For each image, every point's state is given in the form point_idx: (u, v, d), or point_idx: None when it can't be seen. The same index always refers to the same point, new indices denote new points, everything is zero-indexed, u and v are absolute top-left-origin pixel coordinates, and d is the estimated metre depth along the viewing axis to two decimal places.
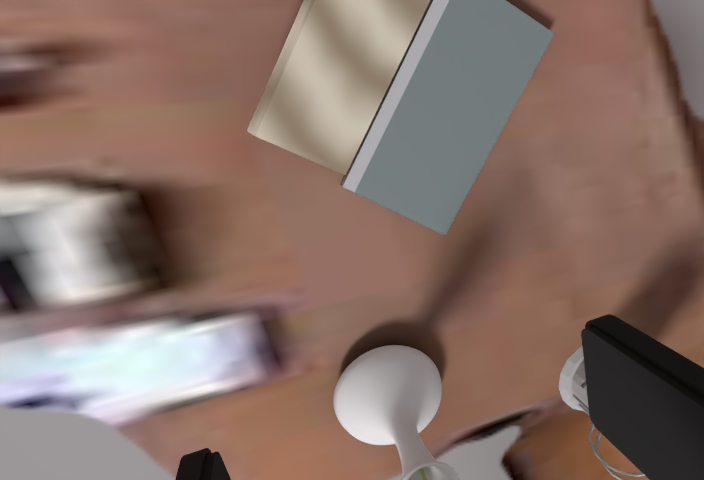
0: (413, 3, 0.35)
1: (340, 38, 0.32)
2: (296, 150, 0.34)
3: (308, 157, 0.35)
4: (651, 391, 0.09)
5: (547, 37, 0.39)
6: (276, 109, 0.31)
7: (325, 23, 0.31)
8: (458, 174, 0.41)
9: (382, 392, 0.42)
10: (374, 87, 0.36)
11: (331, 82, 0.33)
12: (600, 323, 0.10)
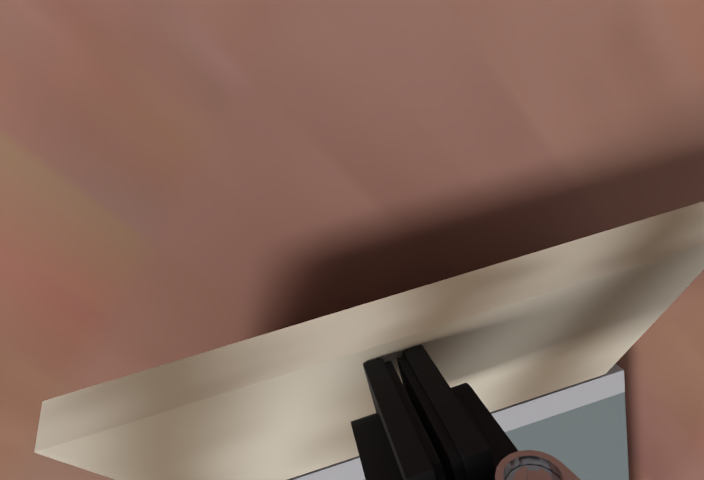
0: (539, 385, 0.18)
1: None
2: (132, 479, 0.13)
3: None
4: (425, 421, 0.10)
5: None
6: (150, 428, 0.11)
7: None
8: None
9: None
10: None
11: (317, 422, 0.14)
12: (407, 353, 0.11)
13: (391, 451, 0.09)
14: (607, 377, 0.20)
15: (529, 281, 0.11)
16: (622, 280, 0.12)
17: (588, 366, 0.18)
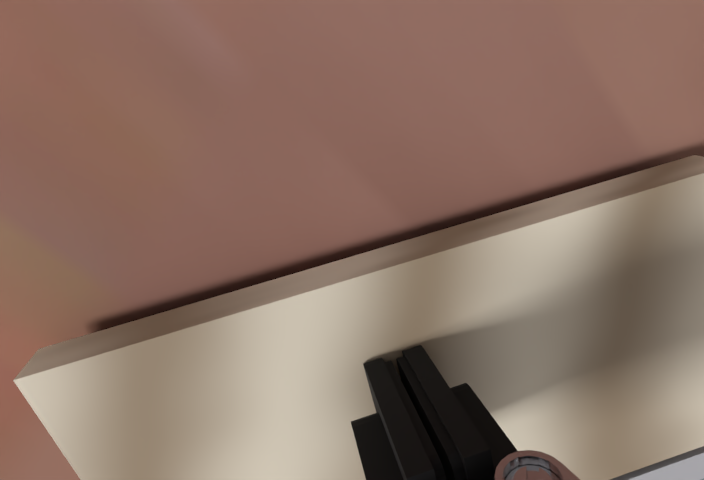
0: (612, 445, 0.14)
1: None
2: None
3: None
4: (425, 421, 0.10)
5: None
6: (131, 373, 0.10)
7: (413, 315, 0.11)
8: None
9: None
10: None
11: (320, 432, 0.12)
12: (407, 354, 0.11)
13: (391, 451, 0.09)
14: None
15: (522, 219, 0.11)
16: (628, 220, 0.11)
17: (668, 414, 0.14)
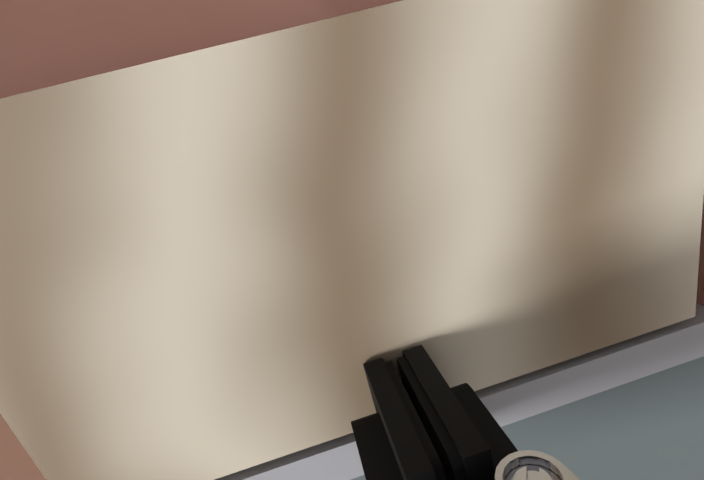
0: (586, 306, 0.12)
1: (346, 183, 0.10)
2: None
3: None
4: (425, 421, 0.10)
5: None
6: None
7: (334, 100, 0.09)
8: None
9: None
10: (344, 389, 0.12)
11: (229, 258, 0.10)
12: (407, 354, 0.11)
13: (391, 451, 0.09)
14: (700, 326, 0.13)
15: None
16: None
17: (650, 270, 0.12)
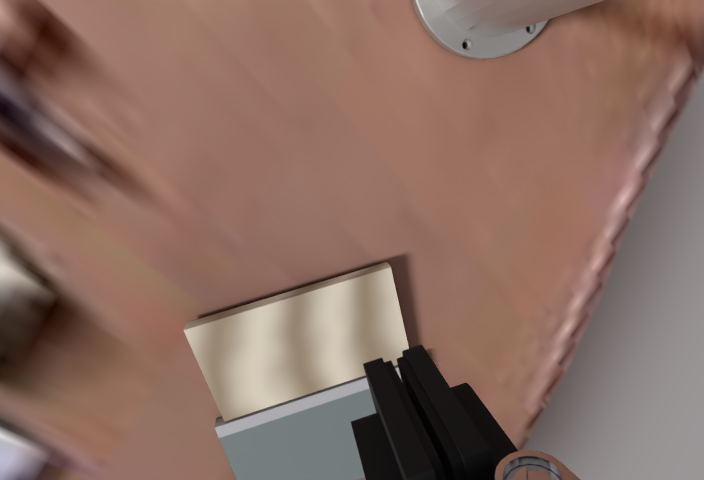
0: (373, 358, 0.41)
1: (298, 330, 0.39)
2: (203, 367, 0.38)
3: (207, 380, 0.38)
4: (425, 421, 0.10)
5: None
6: (214, 328, 0.37)
7: (295, 312, 0.38)
8: None
9: None
10: (300, 382, 0.40)
11: (268, 349, 0.39)
12: (407, 354, 0.11)
13: (391, 451, 0.09)
14: None
15: (327, 284, 0.38)
16: (359, 284, 0.38)
17: (392, 347, 0.41)
